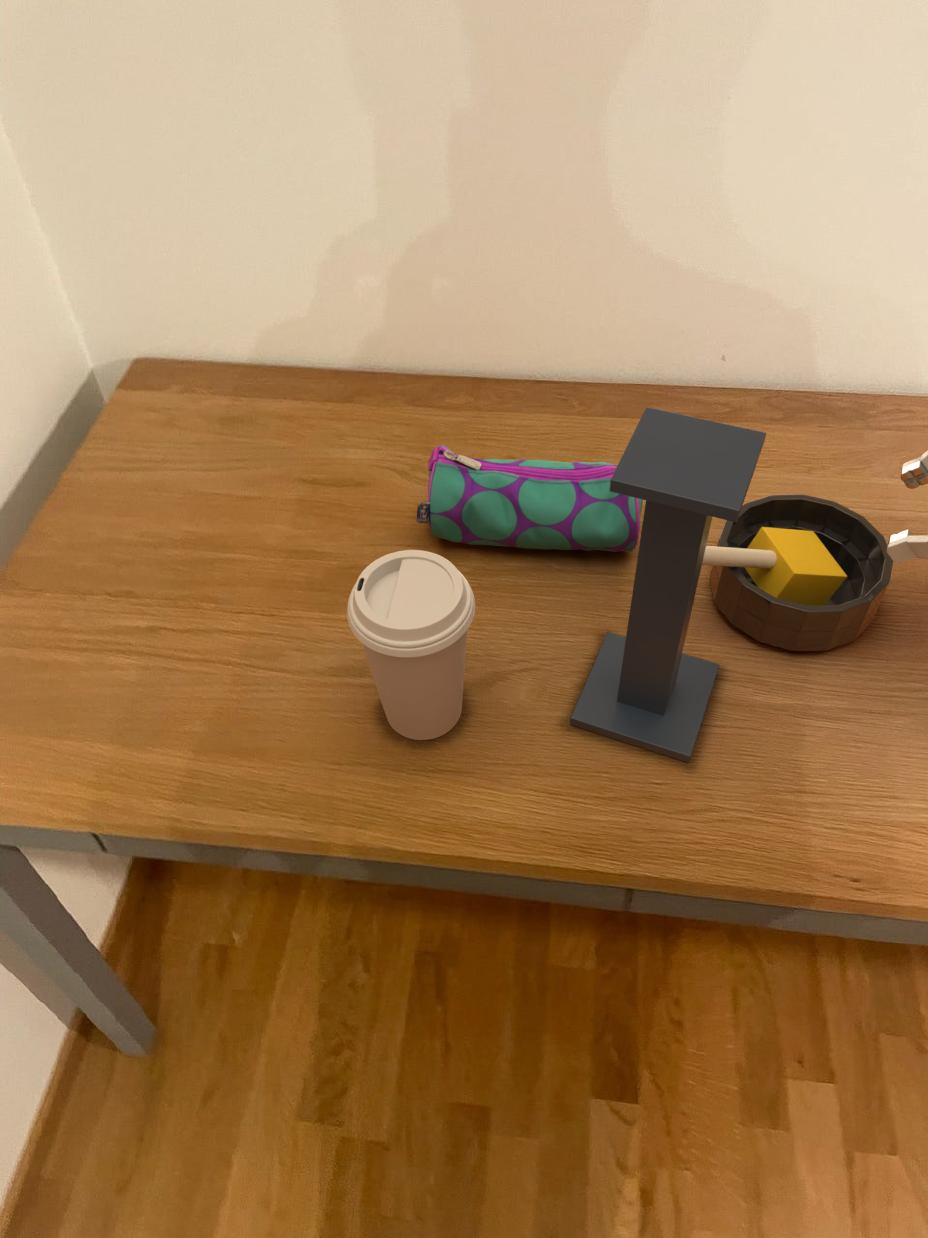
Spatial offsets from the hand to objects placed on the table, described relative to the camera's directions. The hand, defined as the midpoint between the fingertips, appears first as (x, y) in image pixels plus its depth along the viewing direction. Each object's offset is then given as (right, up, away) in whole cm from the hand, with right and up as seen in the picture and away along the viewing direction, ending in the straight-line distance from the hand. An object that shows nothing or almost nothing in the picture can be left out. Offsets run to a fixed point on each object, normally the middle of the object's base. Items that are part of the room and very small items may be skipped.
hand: (898, 512), depth 74 cm
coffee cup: (-38, -16, +4) cm, 42 cm away
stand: (-19, -15, +4) cm, 25 cm away
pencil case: (-28, 0, +18) cm, 33 cm away
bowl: (-5, -6, +11) cm, 14 cm away
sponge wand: (-11, -2, +4) cm, 12 cm away
